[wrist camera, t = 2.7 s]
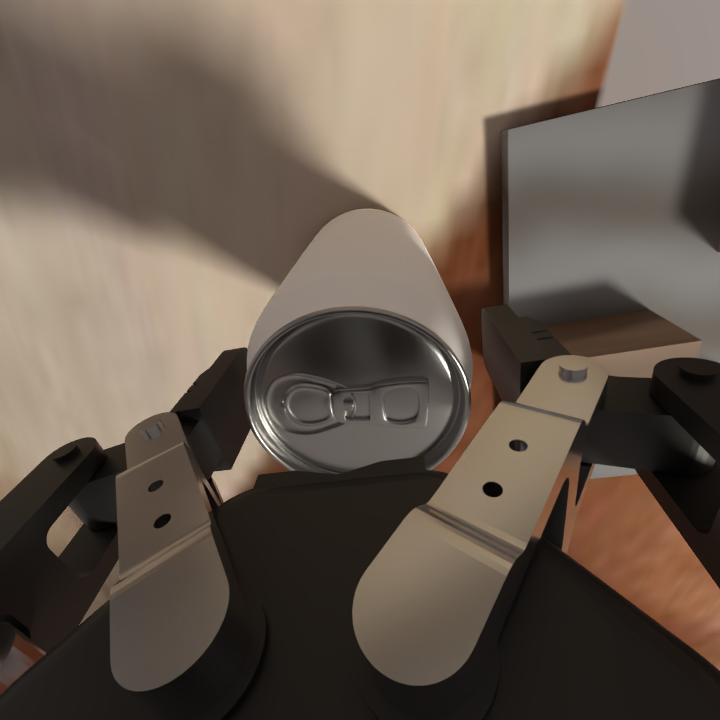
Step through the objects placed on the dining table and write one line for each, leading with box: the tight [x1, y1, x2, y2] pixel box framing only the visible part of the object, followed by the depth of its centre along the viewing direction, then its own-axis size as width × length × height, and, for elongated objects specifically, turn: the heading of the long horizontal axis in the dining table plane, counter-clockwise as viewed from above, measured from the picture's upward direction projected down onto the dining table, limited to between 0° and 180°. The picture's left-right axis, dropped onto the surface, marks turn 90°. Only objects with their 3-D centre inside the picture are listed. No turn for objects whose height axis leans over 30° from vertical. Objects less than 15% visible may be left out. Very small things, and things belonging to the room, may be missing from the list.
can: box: [243, 209, 473, 474], centre depth 14 cm, size 6×6×12 cm
